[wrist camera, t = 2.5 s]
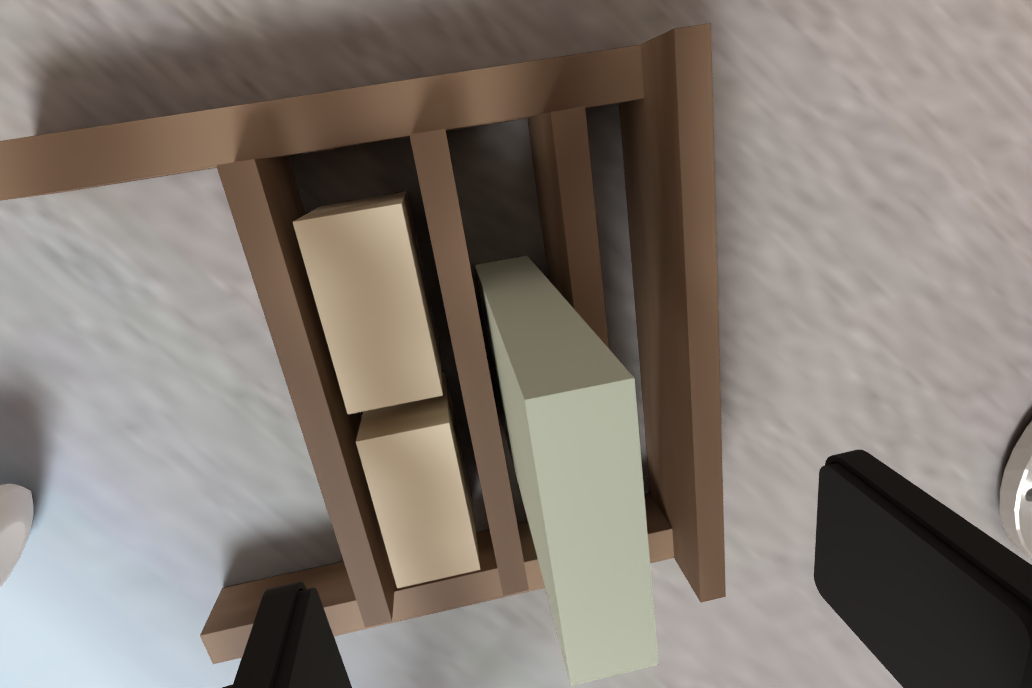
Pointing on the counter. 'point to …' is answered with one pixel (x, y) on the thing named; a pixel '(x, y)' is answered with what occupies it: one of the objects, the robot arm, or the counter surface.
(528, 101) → the rack
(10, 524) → the white jar
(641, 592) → the sage green slab
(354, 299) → the offcut
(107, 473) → the counter surface
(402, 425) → the offcut
